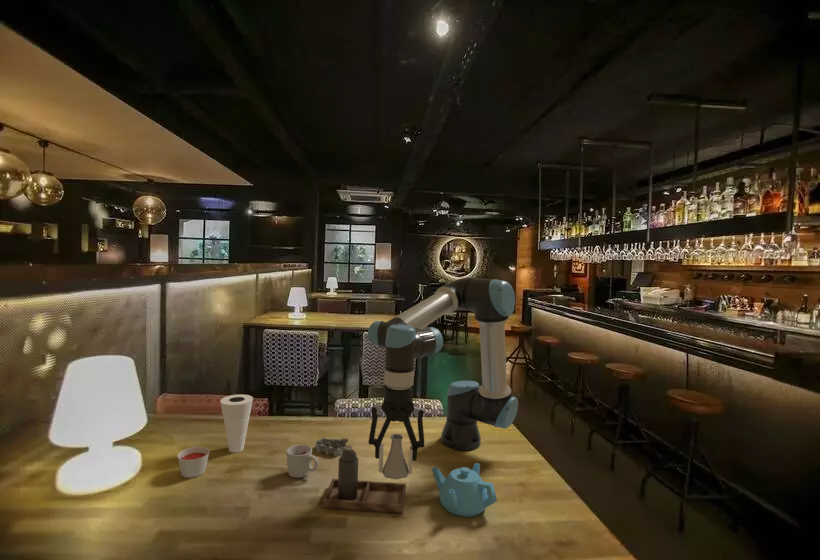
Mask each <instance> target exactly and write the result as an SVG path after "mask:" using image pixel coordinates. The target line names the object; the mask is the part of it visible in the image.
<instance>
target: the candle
mask: <svg viewBox="0 0 820 560" xmlns="http://www.w3.org/2000/svg"><path fill="white" fill-rule="evenodd" d="M209 455H210V449H209V448H207V447H205V446H193V447H188V448H184V449H182V450H181V451H180V452H178V453H177V462H178V465H179V466H178V467H179V471H180V475H181V477H183V478H187V479H191V478H197V477H200V476H202V475H203V474H205V472H206V469H207V465H208V460H209Z"/></svg>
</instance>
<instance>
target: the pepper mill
mask: <svg viewBox="0 0 820 560" xmlns="http://www.w3.org/2000/svg"><path fill="white" fill-rule="evenodd" d="M337 479H338V499H339V500H351V501H353V500H355V499H356V498H357V488H358V480H359V457H357V453H356V451H355V450H354V449H353V446H352V444H347V446H346V450H344V451H343V452H342V455H340V456H339V458H338V477H337Z"/></svg>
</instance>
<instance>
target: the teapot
mask: <svg viewBox="0 0 820 560" xmlns="http://www.w3.org/2000/svg"><path fill="white" fill-rule="evenodd" d="M480 469H481V464H480V463H479V462H476V463H474V465H473V467H472V468H471V469H470V468H469V467H464V466H463V467H458V468H454V469H453V470H451V471H450V473H449V474H448V475H446V477H445V476H444V474H443V473H442V472H441V470H440V469H439V467H435V466H433V467H432V468H431V471H432V473H433V476H434V477H433V478H434V479H435V482H436V486H437V489H438V492H439V496H438V497H439V501H440V503H441V505H442V506H443V508H444V509H445V510H446V511H447V512H449V513H450V514H452V515H454V516H457V517H461V518H462V517H464V518H470V517H476V516H478V515H480V514H481V513H483V512H484V510H485V509H486V508H487V507H489V506H490V507H491V506H492V505H493V504H495V503H496V502H497V501H498V498H497V493H496V489H495V487H494V482H489V481H483V479H482V478H481V476H480V471H481V470H480Z"/></svg>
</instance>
